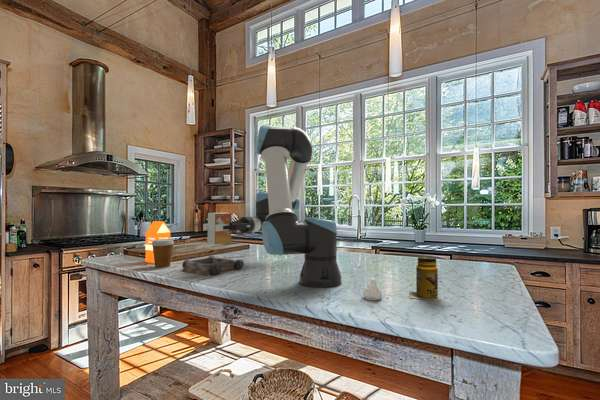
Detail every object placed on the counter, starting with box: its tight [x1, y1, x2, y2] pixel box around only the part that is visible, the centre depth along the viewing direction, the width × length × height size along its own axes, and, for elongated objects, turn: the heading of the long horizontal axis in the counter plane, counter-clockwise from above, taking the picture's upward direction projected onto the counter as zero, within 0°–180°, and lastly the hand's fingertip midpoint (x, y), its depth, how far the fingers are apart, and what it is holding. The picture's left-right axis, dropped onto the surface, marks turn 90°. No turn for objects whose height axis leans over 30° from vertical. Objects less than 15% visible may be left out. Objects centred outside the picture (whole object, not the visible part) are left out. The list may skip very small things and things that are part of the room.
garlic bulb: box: [363, 277, 383, 301], centre depth 93 cm, size 6×6×5 cm
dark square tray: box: [181, 255, 245, 277], centre depth 134 cm, size 20×19×4 cm
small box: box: [207, 212, 233, 245], centre depth 132 cm, size 8×6×13 cm
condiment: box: [408, 256, 441, 302], centre depth 94 cm, size 7×8×12 cm
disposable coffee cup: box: [151, 238, 175, 269], centre depth 140 cm, size 10×10×12 cm
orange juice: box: [144, 220, 171, 264], centre depth 153 cm, size 8×9×20 cm
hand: (209, 227), depth 128 cm, fingers closed on small box, 7 cm apart
